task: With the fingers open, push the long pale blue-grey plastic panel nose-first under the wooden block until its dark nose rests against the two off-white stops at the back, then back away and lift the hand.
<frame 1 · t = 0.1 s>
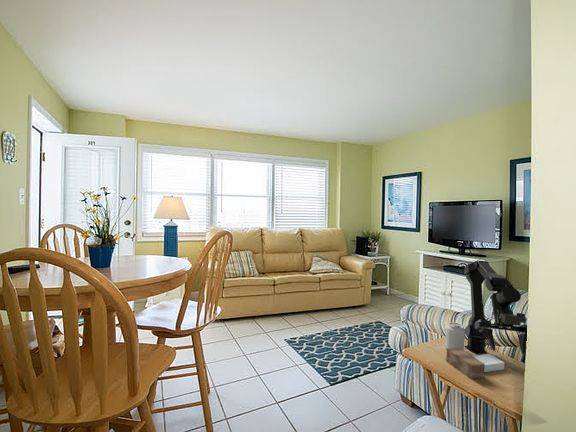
hand: (508, 352, 110), 15 cm above the table, tool tilted 35°, fingers open, 9 cm apart
panel: (484, 366, 128), on the table
can: (454, 350, 141), on the table
wooden block: (464, 368, 125), on the table
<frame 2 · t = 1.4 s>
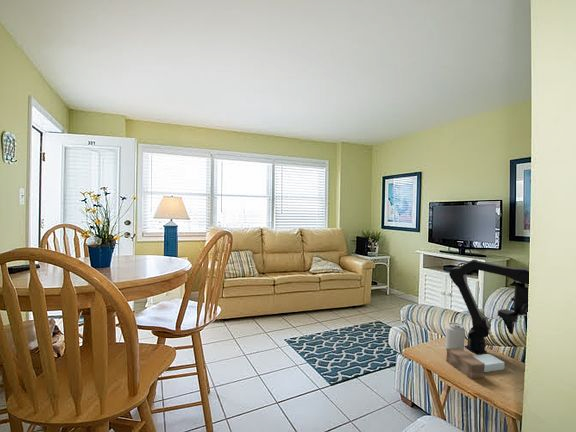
hand: (519, 333, 131), 13 cm above the table, tool pointing down, fingers open, 9 cm apart
nothing on the table moved.
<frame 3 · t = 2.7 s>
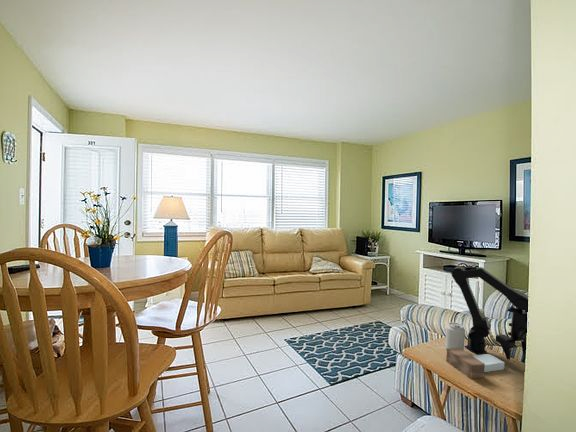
hand: (516, 358, 132), 2 cm above the table, tool pointing down, fingers open, 9 cm apart
nothing on the table moved.
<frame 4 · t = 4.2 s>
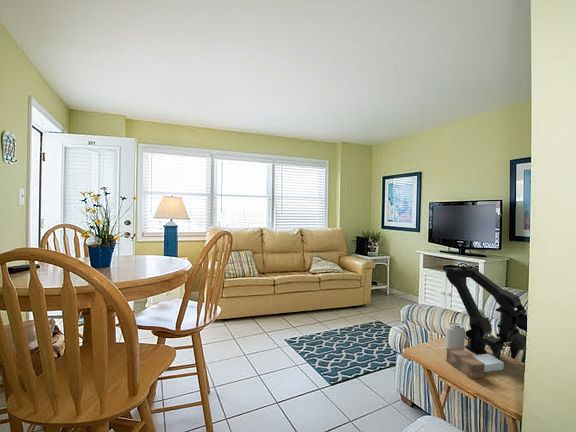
hand: (505, 359, 130), 2 cm above the table, tool pointing down, fingers open, 8 cm apart
panel: (484, 366, 127), on the table, touching gripper
everything else where it was.
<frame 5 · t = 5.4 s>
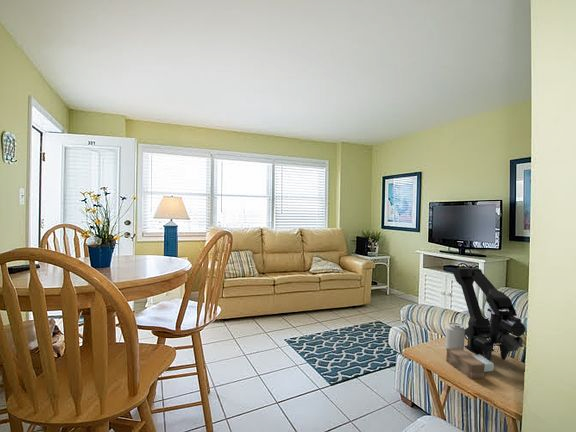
hand: (495, 361, 129), 2 cm above the table, tool pointing down, fingers open, 8 cm apart
panel: (474, 367, 127), on the table, touching wooden block, gripper
everything else where it was.
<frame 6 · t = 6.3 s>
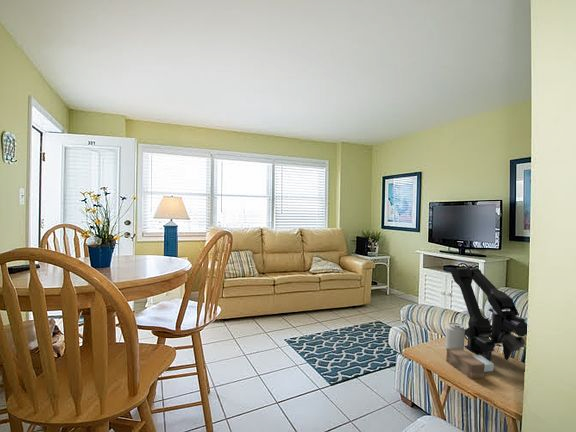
hand: (497, 360, 129), 2 cm above the table, tool pointing down, fingers open, 9 cm apart
panel: (473, 367, 127), on the table
everything else where it was.
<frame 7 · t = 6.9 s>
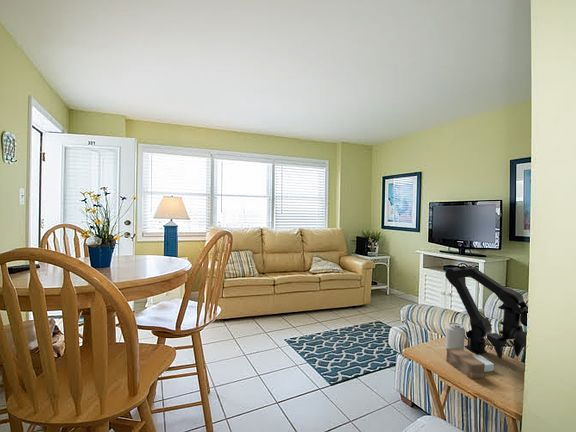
hand: (508, 356, 130), 3 cm above the table, tool pointing down, fingers open, 9 cm apart
nothing on the table moved.
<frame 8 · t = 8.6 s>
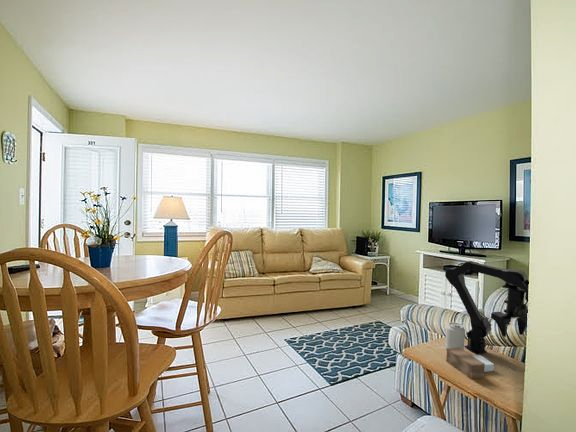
hand: (512, 335, 130), 12 cm above the table, tool pointing down, fingers open, 9 cm apart
nothing on the table moved.
at the end: panel 0.2 cm from the target spot on the table beside the wooden block, on the table; panel tilted 0°; the gripper is holding nothing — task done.
